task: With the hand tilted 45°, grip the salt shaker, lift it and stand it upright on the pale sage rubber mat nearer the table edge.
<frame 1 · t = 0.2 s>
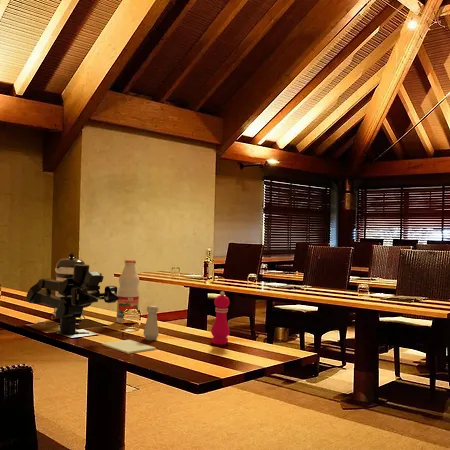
hand: (108, 299, 196), 17 cm above the table, tool horizontal, fingers open, 9 cm apart
sage mat: (128, 347, 194), on the table
salt shaker: (150, 339, 210), on the table
coffee press: (70, 320, 243), on the table
fruit juice: (126, 322, 243), on the table
pepper mill: (219, 343, 210), on the table
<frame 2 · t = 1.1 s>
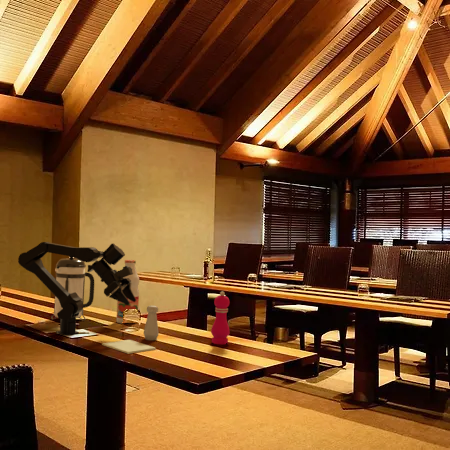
hand: (132, 302, 210), 14 cm above the table, tool tilted 45°, fingers open, 9 cm apart
nothing on the table moved.
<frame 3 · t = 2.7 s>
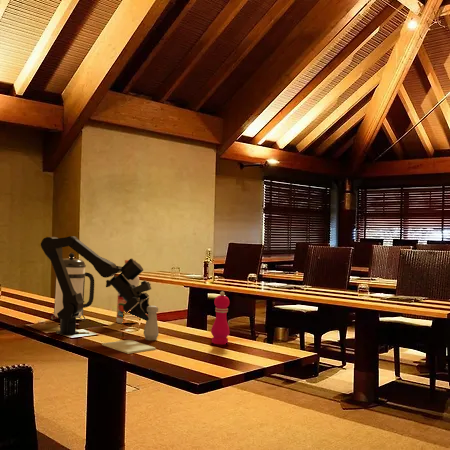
hand: (150, 318, 210), 8 cm above the table, tool tilted 45°, fingers open, 9 cm apart
nothing on the table moved.
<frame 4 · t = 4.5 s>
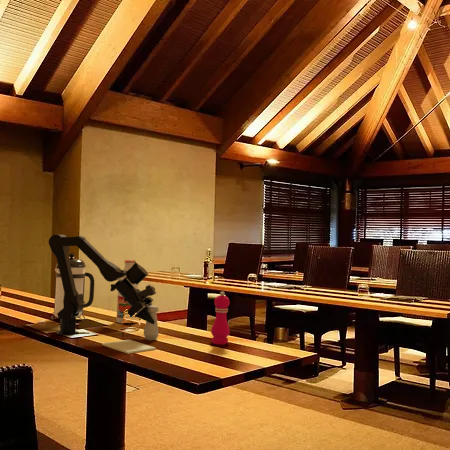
hand: (155, 322, 210), 7 cm above the table, tool tilted 45°, fingers closed on salt shaker, 3 cm apart
salt shaker: (150, 339, 210), on the table, touching gripper
everything else where it was.
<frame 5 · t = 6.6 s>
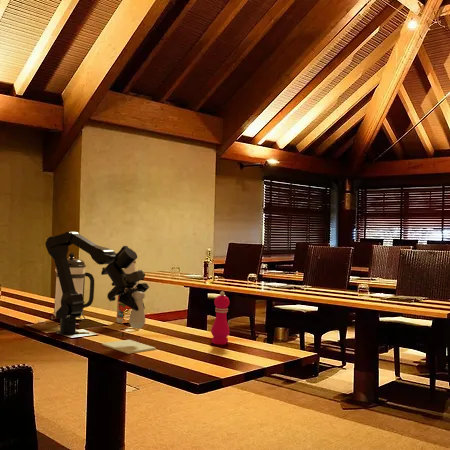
hand: (140, 309, 197), 13 cm above the table, tool tilted 45°, fingers closed on salt shaker, 3 cm apart
salt shaker: (136, 327, 198), point 6 cm above the table, touching gripper
everything else where it was.
when the fingers open (8 cm above the table, at t = 8.8 s): salt shaker drops 1 cm, resting on sage mat.
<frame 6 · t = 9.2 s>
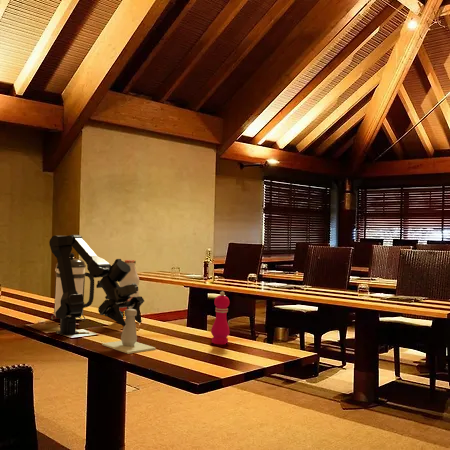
hand: (132, 323, 194), 9 cm above the table, tool tilted 45°, fingers open, 8 cm apart
salt shaker: (128, 345, 195), resting on sage mat
everything else where it was.
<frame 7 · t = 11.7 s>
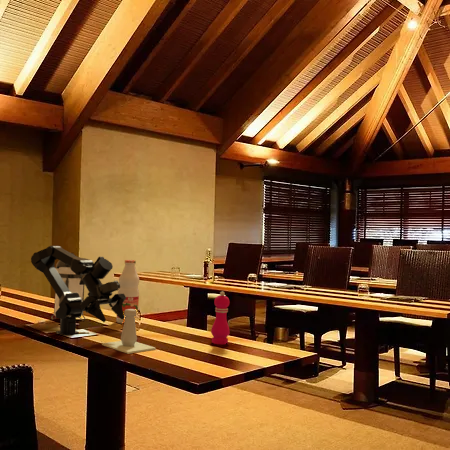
hand: (114, 320, 199), 9 cm above the table, tool tilted 45°, fingers open, 9 cm apart
nothing on the table moved.
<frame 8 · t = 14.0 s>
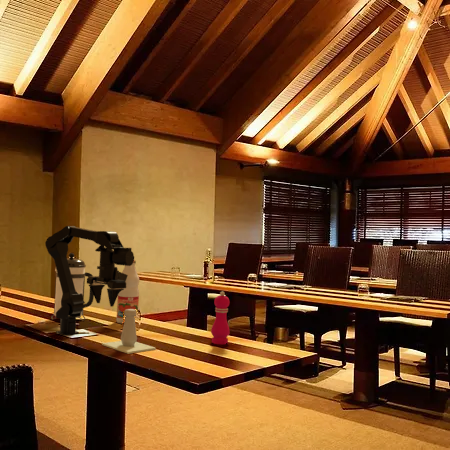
hand: (105, 304, 206), 13 cm above the table, tool pointing down, fingers open, 9 cm apart
nothing on the table moved.
at the end: salt shaker inside the target area on the sage mat (0.3 cm from its centre), point 0.4 cm above the sage mat's base; salt shaker tilted 0°; the gripper is holding nothing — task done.
